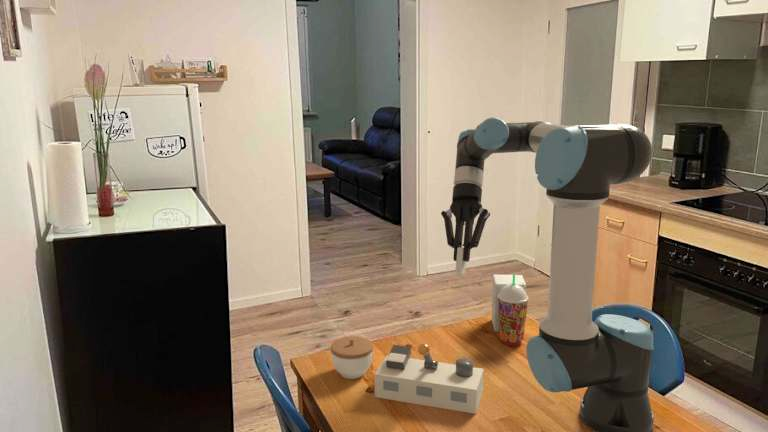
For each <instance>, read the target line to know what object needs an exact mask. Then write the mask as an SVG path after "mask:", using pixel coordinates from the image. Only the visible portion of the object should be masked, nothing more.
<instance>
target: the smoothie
mask: <svg viewBox="0 0 768 432" xmlns="http://www.w3.org/2000/svg"><path fill="white" fill-rule="evenodd" d="M512 275H513V281H512V284H508V285H506V286H504V287H503V288H502V289H501V291H500V293H499V294H498V316H499V331H498V338H499V340H500V343H502V344H503V345H506V346H508V347H511V346H512V347H515V346H520V345H521V344H522V341H523V340H524V338H525V337H524V336H525V327H526V321H527V320H526V319H527V310H528V303H529V296H528V294H527V291H526V292H525V290H524V289H523V288H522V287H521V286H520V285H517V284H515V275H516V274H512Z"/></svg>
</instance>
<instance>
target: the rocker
mask: <svg viewBox="0 0 768 432" xmlns="http://www.w3.org/2000/svg"><path fill="white" fill-rule="evenodd" d="M411 354H412V346H405V345H401V344H400V345H399V344H393V345H392V348H391V350H390V351H389V354H388V355H389V356H388V358H387V360H386V367H389V368H395V369H402V370H404V369H405V367H406V364H407V362H408V360H409V358H410V357H411Z"/></svg>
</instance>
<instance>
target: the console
mask: <svg viewBox="0 0 768 432" xmlns="http://www.w3.org/2000/svg"><path fill="white" fill-rule="evenodd" d="M388 356H389V354H387V355H386V357H385V358H384V360H383V361H382V363H381V364H380V366H379V367H378V369H376V371H375V373H374V397H375V398H377V399H378V398H379V399H385V400H391V401H394V402H395V401H397V402H402V403H409V404H415V405H418V406H419V405H421V406H427V407H432V408H437V409H445V410H450V411H456V412H462V413H467V414H474V415H475V414H476V415H477V412H478V408H479V406H480V402H481V399H482V395H483V392H484V368H480V367H476V366H473V375H472V376H470V377H460V376H458V375H456V364H453V363H447V362H439V361H437V362H438V368H437V369H431V368H425V367H424V362H425V359H420V358H419V359H417V358H410V357H409V360H408V362H407V364H406V367H405V369H404V370H402V369H395V368H389V367H386V360H387V358H388Z"/></svg>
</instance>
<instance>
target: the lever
mask: <svg viewBox="0 0 768 432" xmlns="http://www.w3.org/2000/svg"><path fill="white" fill-rule="evenodd" d="M430 351H431V349H430V347H429V345H428V344H427V343H421V344H420V345H418V348H417V352H418V353H419V355H421V356H422V357H423V360H425V362H424V367H425V368H431V369H437V368H438V362H439V361H436V360H433V358H432V356H431V354H430Z"/></svg>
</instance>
